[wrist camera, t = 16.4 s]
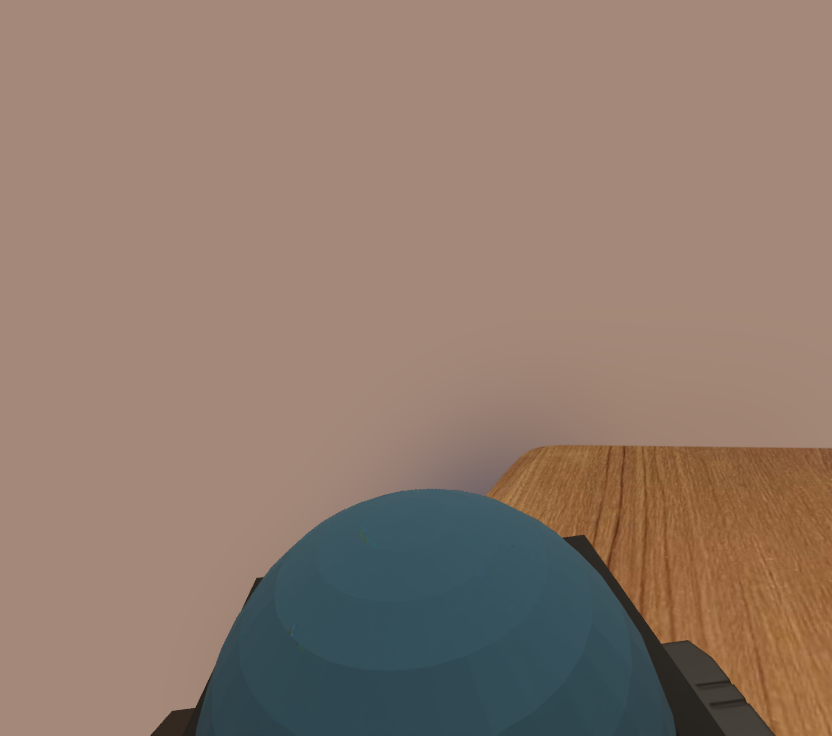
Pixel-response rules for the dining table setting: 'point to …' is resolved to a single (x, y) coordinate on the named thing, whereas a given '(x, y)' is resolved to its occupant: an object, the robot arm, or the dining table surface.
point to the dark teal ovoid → (434, 633)
